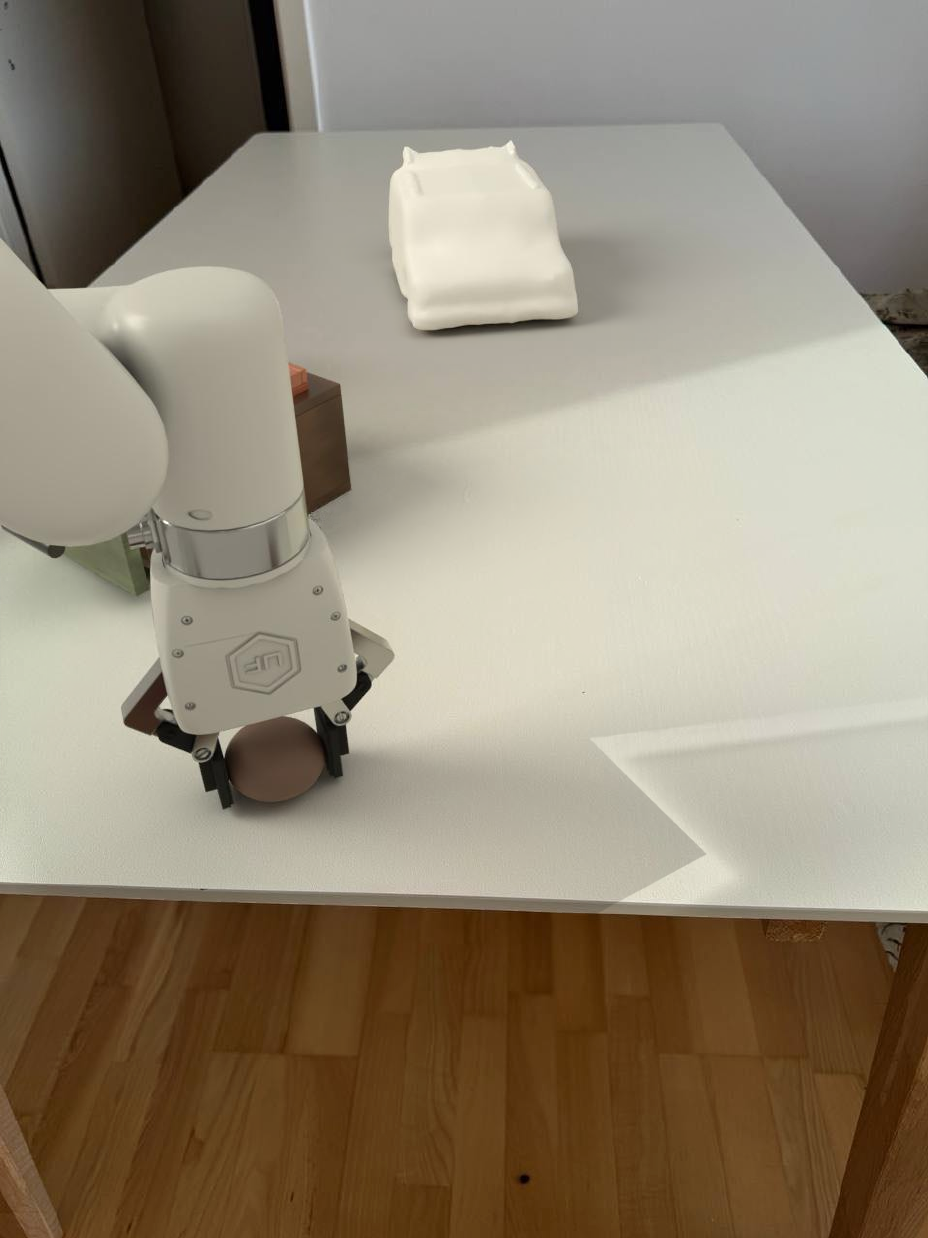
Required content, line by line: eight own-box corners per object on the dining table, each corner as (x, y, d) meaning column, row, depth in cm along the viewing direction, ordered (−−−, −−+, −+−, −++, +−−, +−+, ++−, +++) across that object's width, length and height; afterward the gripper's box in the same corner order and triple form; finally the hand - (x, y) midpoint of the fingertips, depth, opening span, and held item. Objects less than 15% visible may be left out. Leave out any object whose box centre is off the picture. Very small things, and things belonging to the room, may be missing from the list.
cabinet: (219, 566, 85) (197, 454, 79) (119, 514, 92) (92, 407, 86) (351, 489, 94) (340, 383, 88) (251, 446, 101) (235, 345, 95)
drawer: (88, 624, 78) (60, 530, 73) (-2, 568, 84) (-32, 478, 79) (273, 518, 89) (259, 431, 84) (181, 476, 95) (164, 392, 90)
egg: (344, 793, 65) (338, 744, 63) (252, 833, 63) (241, 783, 61) (303, 735, 70) (296, 686, 67) (215, 771, 67) (204, 722, 65)
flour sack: (530, 239, 145) (531, 132, 137) (583, 326, 121) (587, 201, 113) (386, 251, 143) (378, 142, 135) (411, 341, 119) (404, 215, 111)
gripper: (62, 602, 50) (141, 863, 61) (418, 524, 55) (433, 780, 66) (51, 522, 56) (125, 774, 67) (375, 457, 60) (395, 703, 71)
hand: (277, 775), depth 66 cm, fingers closed on egg, 6 cm apart
